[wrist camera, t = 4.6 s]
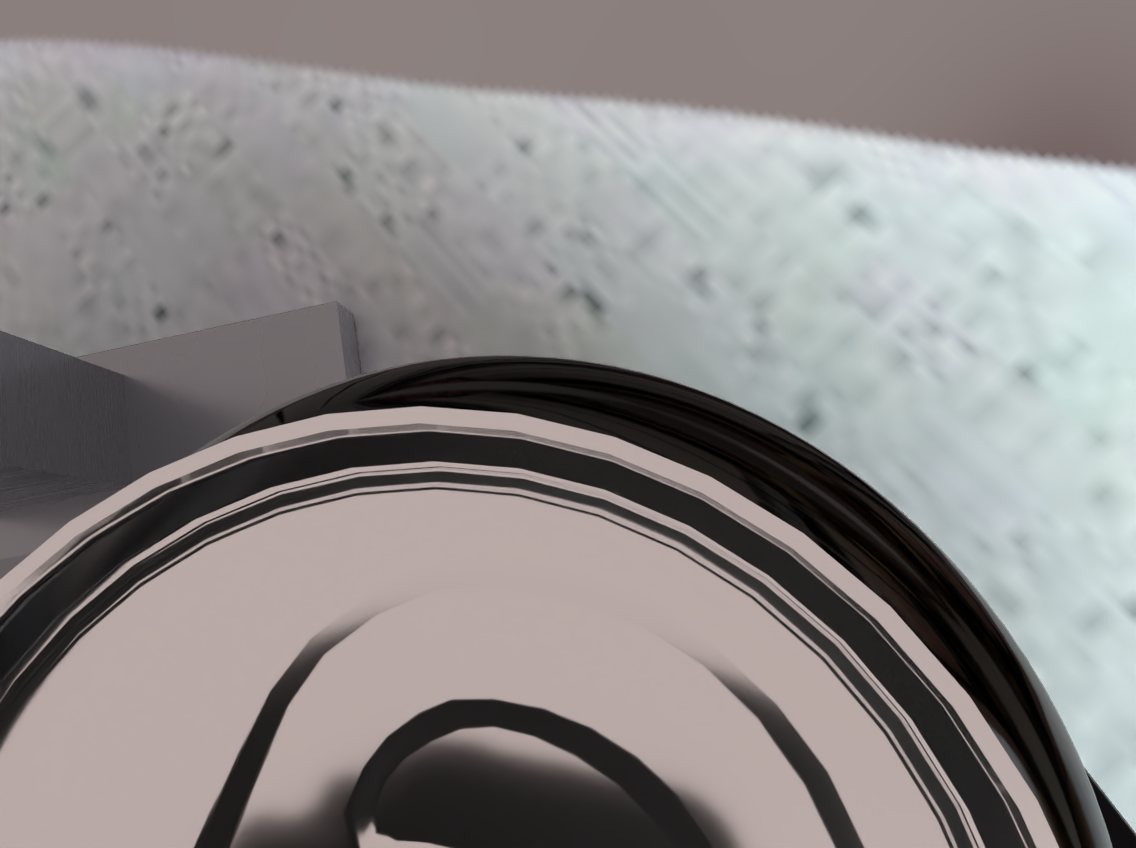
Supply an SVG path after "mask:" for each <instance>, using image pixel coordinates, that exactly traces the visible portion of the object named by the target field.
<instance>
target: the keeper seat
mask: <svg viewBox="0 0 1136 848" xmlns="http://www.w3.org/2000/svg"><path fill="white" fill-rule="evenodd" d="M358 375H361V369H360V362H359V354H358V347H357V339H356V331H355V324H354V316H353V314H352V313H351V312H350V311H348V310H347V309H346V308H344V307H343V306H342V305H340V304H339V303H338V302H331V303H327V304H322V305H317V306H313V307H308V308H303V309H299V310H294V311H289V312H285V313H280V314H276V315H271V316H266V317H262V318H257V319H252V320H248V321H243V322H238V323H234V324H229V325H224V326H220V327H215V328H210V329H206V330H201V331H197V332H192V333H187V334H183V335H178V336H173V337H169V338H164V339H159V340H155V341H150V342H145V343H141V344H136V345H131V346H127V347H122V348H118V349H113V350H108V351H104V352H99V353H94V354H90V355H85V356H80V357H76V358H75V357H72V356H69V355H67V354H64V353H61V352H58V351H56V350H53V349H50V348H47V347H44V346H42V345H39V344H36V343H33V342H30V341H28V340H25V339H22V338H19V337H16V336H14V335H11V334H8V333H5V332H2V331H0V579H1V578H3V577H4V576H5V575H6V574H7V573H9V572H10V571H11V570H12V569H13V568H15V567H16V566H17V565H18V564H19V563H21V562H22V561H23V560H24V559H25V558H27V557H28V556H29V555H30V554H31V553H32V552H34V551H35V550H36V549H37V548H38V547H40V546H41V545H42V544H43V543H44V542H46V541H47V540H48V539H49V538H50V537H52V536H53V535H54V534H55V533H56V532H57V531H59V530H60V529H61V528H62V527H63V526H65V525H66V524H67V523H68V522H70V521H71V520H73V519H75V518H76V517H78V516H79V515H81V514H83V513H84V512H86V511H88V510H89V509H91V508H92V507H94V506H96V505H97V504H99V503H101V502H102V501H104V500H106V499H107V498H109V497H110V496H112V495H114V494H115V493H117V492H119V491H120V490H122V489H123V488H125V487H127V486H128V485H130V484H132V483H133V482H135V481H136V480H138V479H140V478H141V477H143V476H145V475H146V474H148V473H150V472H152V471H155V470H157V469H159V468H162V467H164V466H166V465H169V464H171V463H174V462H176V461H178V460H181V459H183V458H185V457H188V456H190V455H191V454H192V453H194V452H195V451H197V450H198V449H200V448H201V447H203V446H204V445H206V444H207V443H209V442H211V441H212V440H214V439H215V438H217V437H219V436H220V435H222V434H224V433H225V432H227V431H229V430H230V429H232V428H234V427H236V426H238V425H239V424H241V423H243V422H245V421H247V420H249V419H250V418H252V417H254V416H256V415H258V414H260V413H262V412H265V411H267V410H269V409H271V408H273V407H275V406H277V405H279V404H281V403H284V402H286V401H288V400H291V399H293V398H295V397H298V396H300V395H302V394H305V393H307V392H310V391H313V390H316V389H318V388H321V387H324V386H327V385H329V384H332V383H335V382H339V381H342V380H345V379H348V378H352V377H355V376H358Z"/></svg>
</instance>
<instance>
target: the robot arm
mask: <svg viewBox="0 0 1136 848" xmlns="http://www.w3.org/2000/svg"><path fill="white" fill-rule="evenodd" d="M1083 767H1084V766H1083ZM1084 769H1085V768H1084ZM1085 771H1086V774H1087V776H1088V779H1089V781H1090V783H1091V786H1092V788H1093V791H1094V794H1095V796H1096V799H1097V802H1098V805H1099V808H1100V810H1101V813H1102V816H1103V819H1104V821H1105V824H1106V827H1107V831H1108V834H1109V837H1110V841H1111V844H1112V847H1113V848H1136V833H1135V832H1134V831H1133V829H1132V828H1131V827H1130V825H1129V824H1128V823H1127V822H1126V820H1125V819H1124V818H1123V817H1122V815H1121V814H1120V813H1119V811H1118V810H1117V809H1116V808H1115V806H1114V805H1113V804H1112V802H1111V801H1110V800H1109V799H1108V797H1107V796H1106V795H1105V793H1104V792H1103V791H1102V790H1101V788H1100V787H1099V786H1098V784H1097V783H1096V782H1095V781H1094V779H1093V778H1092V777H1091V775H1090V774H1089V773H1088V772H1087V770H1086V769H1085Z"/></svg>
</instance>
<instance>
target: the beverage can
mask: <svg viewBox="0 0 1136 848" xmlns="http://www.w3.org/2000/svg"><path fill="white" fill-rule="evenodd" d="M0 848H1113V847H1112V844H1111V841H1110V837H1109V834H1108V831H1107V827H1106V824H1105V821H1104V819H1103V816H1102V813H1101V810H1100V808H1099V805H1098V802H1097V799H1096V796H1095V794H1094V791H1093V788H1092V786H1091V783H1090V781H1089V779H1088V776H1087V774H1086V771H1085V769H1084V767H1083V764H1082V762H1081V759H1080V757H1079V755H1078V753H1077V750H1076V748H1075V746H1074V744H1073V742H1072V740H1071V738H1070V736H1069V734H1068V731H1067V729H1066V727H1065V725H1064V723H1063V721H1062V719H1061V717H1060V715H1059V714H1058V712H1057V710H1056V708H1055V706H1054V704H1053V702H1052V701H1051V699H1050V697H1049V695H1048V693H1047V691H1046V689H1045V688H1044V686H1043V684H1042V683H1041V681H1040V680H1039V678H1038V676H1037V675H1036V673H1035V671H1034V670H1033V668H1032V666H1031V665H1030V663H1029V661H1028V660H1027V658H1026V657H1025V655H1024V654H1023V652H1022V651H1021V649H1020V648H1019V646H1018V645H1017V643H1016V642H1015V640H1014V639H1013V637H1012V636H1011V634H1010V633H1009V631H1008V630H1007V628H1006V627H1005V626H1004V624H1003V623H1002V622H1001V620H1000V619H999V618H998V616H997V615H996V614H995V612H994V611H993V610H992V608H991V607H990V606H989V604H988V603H987V602H986V600H985V599H984V598H983V597H982V596H981V594H980V593H979V592H978V591H977V589H976V588H975V587H974V586H973V585H972V583H971V582H970V581H969V580H968V579H967V577H966V576H965V575H964V574H963V573H962V572H961V570H960V569H959V568H958V567H957V566H956V565H955V564H954V563H953V562H952V561H951V560H950V558H949V557H948V556H947V555H946V554H945V553H944V552H943V551H942V550H941V549H940V548H939V547H938V546H937V545H936V544H935V543H934V542H933V541H932V540H931V539H930V538H929V537H928V536H927V535H926V534H925V533H924V532H923V531H922V530H921V529H920V528H919V527H918V526H917V525H916V524H915V523H914V522H913V521H912V520H911V519H909V518H908V517H907V516H906V515H905V514H904V513H903V512H902V511H901V510H899V509H898V508H897V507H896V506H895V505H894V504H893V503H892V502H890V501H889V500H888V499H887V498H885V497H884V496H883V495H882V494H880V493H879V492H878V491H877V490H876V489H874V488H873V487H872V486H871V485H869V484H868V483H867V482H866V481H864V480H863V479H861V478H860V477H859V476H857V475H856V474H855V473H853V472H852V471H851V470H849V469H848V468H846V467H845V466H844V465H842V464H841V463H840V462H838V461H836V460H835V459H833V458H832V457H830V456H829V455H827V454H826V453H824V452H823V451H821V450H820V449H818V448H817V447H815V446H814V445H812V444H810V443H809V442H807V441H805V440H803V439H802V438H800V437H798V436H797V435H795V434H793V433H792V432H790V431H788V430H786V429H785V428H783V427H781V426H779V425H777V424H775V423H773V422H771V421H769V420H767V419H765V418H763V417H761V416H760V415H758V414H755V413H753V412H751V411H749V410H747V409H744V408H742V407H740V406H738V405H736V404H734V403H731V402H729V401H727V400H724V399H721V398H719V397H716V396H714V395H711V394H709V393H706V392H704V391H701V390H698V389H695V388H692V387H689V386H687V385H684V384H681V383H678V382H675V381H672V380H668V379H664V378H661V377H657V376H654V375H650V374H647V373H643V372H639V371H634V370H630V369H625V368H621V367H616V366H611V365H605V364H600V363H594V362H588V361H581V360H572V359H564V358H555V357H540V356H513V355H494V356H469V357H458V358H447V359H438V360H431V361H424V362H417V363H411V364H406V365H401V366H396V367H391V368H386V369H382V370H378V371H374V372H370V373H366V374H362V375H358V376H355V377H352V378H348V379H345V380H342V381H339V382H335V383H332V384H329V385H327V386H324V387H321V388H318V389H316V390H313V391H310V392H307V393H305V394H302V395H300V396H298V397H295V398H293V399H291V400H288V401H286V402H284V403H281V404H279V405H277V406H275V407H273V408H271V409H269V410H267V411H265V412H262V413H260V414H258V415H256V416H254V417H252V418H250V419H249V420H247V421H245V422H243V423H241V424H239V425H238V426H236V427H234V428H232V429H230V430H229V431H227V432H225V433H224V434H222V435H220V436H219V437H217V438H215V439H214V440H212V441H211V442H209V443H207V444H206V445H204V446H203V447H201V448H200V449H198V450H197V451H195V452H194V453H192V454H191V455H190V456H188V457H185V458H183V459H181V460H178V461H176V462H174V463H171V464H169V465H166V466H164V467H162V468H159V469H157V470H155V471H152V472H150V473H148V474H146V475H145V476H143V477H141V478H140V479H138V480H136V481H135V482H133V483H132V484H130V485H128V486H127V487H125V488H123V489H122V490H120V491H119V492H117V493H115V494H114V495H112V496H110V497H109V498H107V499H106V500H104V501H102V502H101V503H99V504H97V505H96V506H94V507H92V508H91V509H89V510H88V511H86V512H84V513H83V514H81V515H79V516H78V517H76V518H75V519H73V520H71V521H70V522H68V523H67V524H66V525H65V526H63V527H62V528H61V529H60V530H59V531H57V532H56V533H55V534H54V535H53V536H52V537H50V538H49V539H48V540H47V541H46V542H44V543H43V544H42V545H41V546H40V547H38V548H37V549H36V550H35V551H34V552H32V553H31V554H30V555H29V556H28V557H27V558H25V559H24V560H23V561H22V562H21V563H19V564H18V565H17V566H16V567H15V568H13V569H12V570H11V571H10V572H9V573H7V574H6V575H5V576H4V577H3V578H1V579H0Z"/></svg>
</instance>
